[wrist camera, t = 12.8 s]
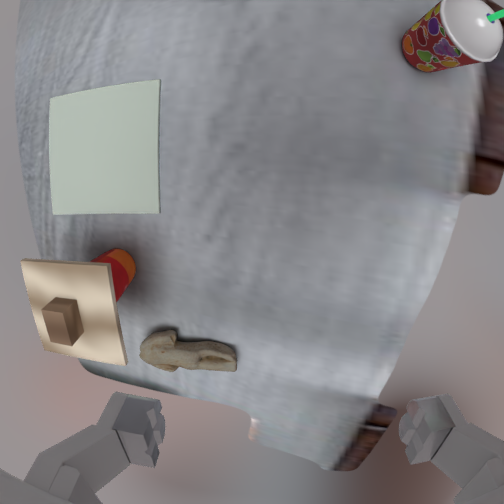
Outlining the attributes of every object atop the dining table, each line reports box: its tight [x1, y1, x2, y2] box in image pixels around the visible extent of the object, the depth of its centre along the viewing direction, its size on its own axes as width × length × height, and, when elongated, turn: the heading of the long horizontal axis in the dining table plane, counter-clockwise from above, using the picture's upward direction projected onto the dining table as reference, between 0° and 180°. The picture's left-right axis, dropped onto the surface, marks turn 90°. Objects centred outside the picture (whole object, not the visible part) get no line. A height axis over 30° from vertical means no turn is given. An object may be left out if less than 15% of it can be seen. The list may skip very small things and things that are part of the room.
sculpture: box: [139, 330, 237, 372], centre depth 46 cm, size 7×5×15 cm
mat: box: [49, 79, 161, 215], centre depth 39 cm, size 18×18×1 cm
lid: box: [21, 258, 128, 366], centre depth 29 cm, size 12×12×4 cm
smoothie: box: [402, 0, 504, 73], centre depth 23 cm, size 8×8×20 cm
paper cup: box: [90, 249, 136, 302], centre depth 38 cm, size 8×8×14 cm
